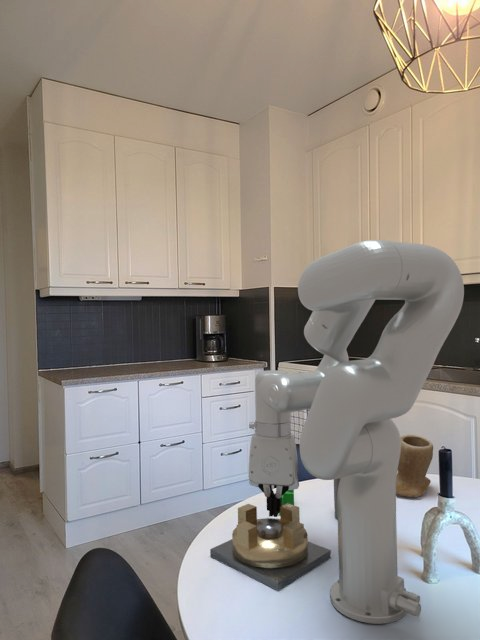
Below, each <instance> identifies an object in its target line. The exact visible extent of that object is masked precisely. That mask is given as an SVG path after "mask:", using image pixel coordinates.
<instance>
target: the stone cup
mask: <svg viewBox="0 0 480 640" xmlns="http://www.w3.org/2000/svg"><path fill="white" fill-rule="evenodd" d="M400 439H401V452H400V459H399V465H398V470H397V479H396V495H398V496H403V497H404V496H405V497H410V498H411V497H413V498H417V497H420V496H422V495H423V494H424V493H425V492H426V491H427V490H428V488H429V486H430V484H431V483H432V481H431V479H430V478H428V477H427V473H428V470H429V469H430V465H431V463H432V460H433V456H434V445H433V442H431V441H430V440H428V439H427V438H425V437H422V436H420V435H416V434H415V435H414V434H404V435H402V436H401V435H400Z"/></svg>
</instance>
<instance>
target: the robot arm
mask: <svg viewBox="0 0 480 640" xmlns="http://www.w3.org/2000/svg"><path fill="white" fill-rule="evenodd" d="M461 273H462V272H461V271H460V268H459V267H458V265H457V263H456V262H455V261H454V259H453V258H452V257H451V256H450V255H449V254H448V253H446V252H444V251H443V250H441V249H439V248H436V247H435V246H431V245H427V244H423V243H422V244H421V243H414V242H403V241H394V240H393V241H392V240H385V239H384V240H381V239H368V240H363V241H359V242H356V243H354V244H351V245H348V246H346V247H344V248H341V249H339V250H337V251H334V252H331V253H328V254H327V255H324V256H321V257H319V258H317V259H315V260H313V261H312V262H311V263H310V264H308V265H307V266H306V267H305V269H304V270H303V272H301V275H300V277H299V280H298V283H297V293H298V294H297V295H298V299H299V300H300V303H301V304H302V306H304V307H305V308H306V309H308V310H309V311H312V312H311V314H310V316H309V318H308V321H307V322H306V323H305V325H304V329H303V335H304V338H305V340H306V342H307V343H308V344H309V345H310V346H311V348H313V349H315V350H316V351H317V352H319V353H320V354H322V355H323V357H322V358H321V361H320V363H319V364H318V366H317V368H316V369H315V370H313V371H303V372H294V373H288V372H286V371H285V370H274V369H273V370H272V369H271V370H262V371H259V372H258V373H256V374H255V378H254V379H255V380H254V383H255V384H254V387H255V389H254V390H255V391H254V392H255V397H254V399H255V400H254V401H255V420H254V421H251V422H250V421H249V425H248V428H249V429H252V430H253V431H254V433H253V434H252V435H251V438H250V446H249V456H248V479H249V485H250V486H253V487H255V488H259V489H260V491H261V492H262V494H264V496H265V498H266V511H268V516H269V517H271V518H277V517H278V516H279V512H280V506H282V495H283V494H284V493H286V492H287V491H288V490H294V491H295V490H298V489H299V487H300V481H299V478H298V477H299V461H298V460H299V459H298V451H297V443H296V439H295V435H294V434H293V433H292V423H291V422H292V417H291V416H292V414H291V413H295V412H301V411H305V410H306V411H307V410H308V414H307V416H306V419H305V421H304V424H303V427H302V429H301V430H302V431H301V432H300V433H301V434H300V437H299V438H300V439H299V455H300V460H301V462H302V465H303V467H304V468H305V470H306V472H308V473H309V474H310V475H311V476H313V477H314V478H316V479H320V480H323V481H331V480H332V481H334V479H338V478H340V482H339V486H338V494H337V512H338V520H337V541H338V542H337V545H338V546H337V547H338V551H337V552H338V579H336V580H335V582H333V583H332V585H331V587H330V589H329V596H330V597H329V599H330V602H331V604H332V606H333V607H334V608H335V609H336V610H337V611H338V612H340V613H341V614H342V615H344V616H345V617H347V618H350V619H352V620H354V621H358V622H361V623H365V624H375V625H377V624H378V625H379V624H380V625H381V624H389V623H393V622H396V621H398V620H400V619H402V618H403V617H405V615H406V614H408V615H411V616H413V617H416V618H418V617H419V616H420V615H421V612H422V605H421V603H420V602H421V596H420V595H419V594H416V593H414V592H412V591H411V592H410V591H408V590H407V589H406V588H405V579H404V578H403V577H401V576H399V575H398V574H399V572H398V570H399V569H398V536H397V535H398V534H397V532H398V531H397V494H396V479H397V473H398V465H399V459H400V452H401V439H400V437H401V435H400V431H399V428H398V427H397V425H396V423H395V422H394V421H393V419H396V418H399V417H402V416H404V415H405V414H407V413H408V412H410V410H411V409H412V407H413V406H414V405H415V403H416V400H417V399H418V396H419V395H420V392H421V390H422V389H423V387H424V384H425V383H426V381H427V378H428V377H429V374H430V372H431V371H432V368H433V367H434V365H435V361H436V359H437V357H438V355H439V353H440V351H441V349H442V347H443V345H444V343H445V341H446V339H447V338H448V336H449V335H450V332H451V331H452V329H453V327H454V326H455V323H456V321H457V319H458V317H459V315H460V313H461V311H462V307H463V303H464V297H465V296H464V295H465V287H464V280H463V276H462V274H461ZM376 300H377V301H378V300H384V301H385V300H389V301H391V300H396V301H397V300H399V301H404V304H403V305H402V307H401V309H399V311H398V312H397V313H395V314H394V315H393V317H391V319H390V320H389V321H388V323H387V324H386V325H385V326H384V329H383V331H382V333H381V336H380V337H379V340H378V343H377V345H376V347H375V348H374V350H373V352H372V354H371V355H370V356H368V357H367V358H364V359H355V360H349V359H350V357H349V355H348V351H347V348H348V346H349V345H350V343H351V341H352V340H353V339H354V337H355V334H356V333H357V331H358V329H359V328H360V327H361V324H362V323H363V322H364V320H365V318H366V317H367V315H368V313H369V312H370V309H372V306H373V305H374V303H375V301H376ZM273 486H276V491H275V492H274V489H273Z"/></svg>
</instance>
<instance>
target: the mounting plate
mask: <svg viewBox="0 0 480 640" xmlns="http://www.w3.org/2000/svg"><path fill="white" fill-rule="evenodd" d="M209 551H210V552H209V553H210V556H209V557H210V558H212V559H214V560H216V561H218V562H220V563H222V564H224V565H226V566H228V567H230V568H232V569H234V570H236V571H237V572H239V573H242V574H243V575H245V576H247V577H249V578H252V579H254V580H255V581H258V582H259V583H261V584H263V585H265V586H267V587H269V588H272V589H274V590H275V591H277V592H279V591H280V590H282V589H284V588H285V587H288V586H289V585H290V584H291V583H294V582H295V581H297V580H298V579H300V578H301V577H304V575H307V574H308V573H309V572H311V571H313V570H314V569H316V568H317V567H319V566H321V565H322V564H324V563H325V562H327V561H328V560H330V559H331V558H332V555H331V554H332V552H331V551H332V550H331V549H328V548H325V547H323V546H320V545H319V544H317V543H316V544H315V543H314V542H311V541H308V553H307V555H306V557H305V558H304V559H303V560H301V561H300V562H298V563H296V564H293V565H290V566H286V567H280V568H261V567H255V566H251V565H248V564H246V563H243V562H241V561H240V560H238V559H237V558H236V557H235V555H234V554H233V545H232V539H229V540H227V541H225V542H223V543H221V544H219V545H216V546H214V547H212V548H209Z"/></svg>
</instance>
